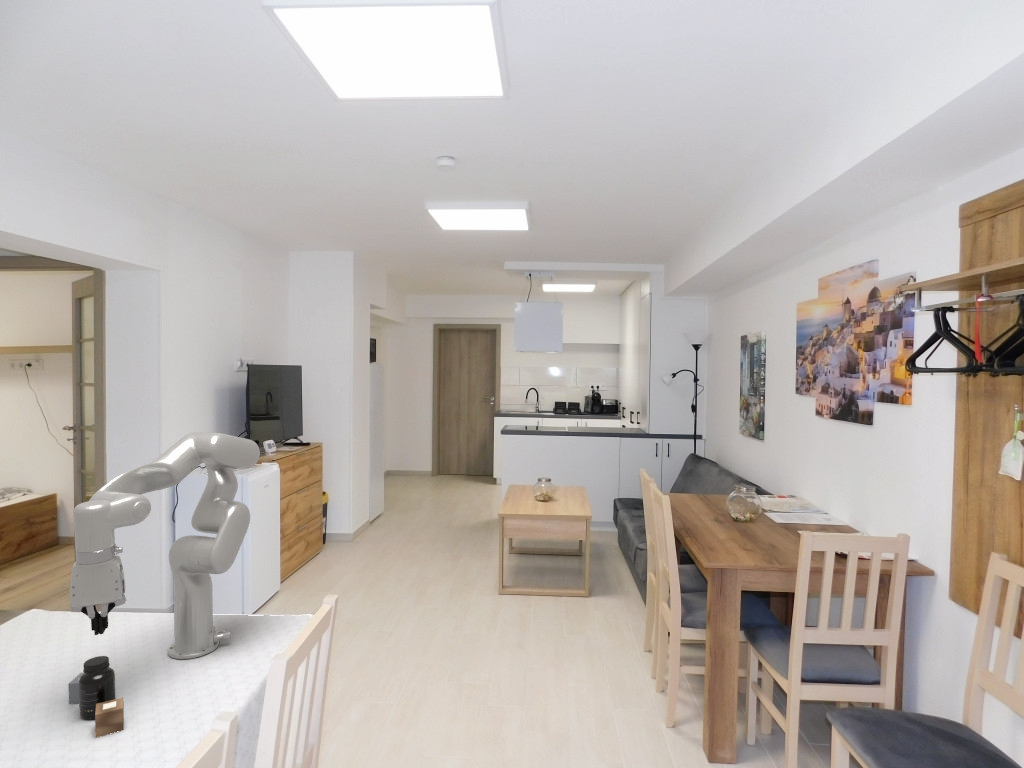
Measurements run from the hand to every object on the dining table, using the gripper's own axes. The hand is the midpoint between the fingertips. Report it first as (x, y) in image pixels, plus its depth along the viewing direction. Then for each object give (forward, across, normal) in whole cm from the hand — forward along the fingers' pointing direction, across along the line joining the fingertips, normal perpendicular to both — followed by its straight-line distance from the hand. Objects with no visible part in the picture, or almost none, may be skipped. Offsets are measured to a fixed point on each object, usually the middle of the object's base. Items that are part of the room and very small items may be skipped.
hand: (100, 632), depth 140 cm
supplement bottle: (+17, 0, +4) cm, 18 cm away
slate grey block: (+17, +4, -4) cm, 18 cm away
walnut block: (+17, -3, +12) cm, 21 cm away
